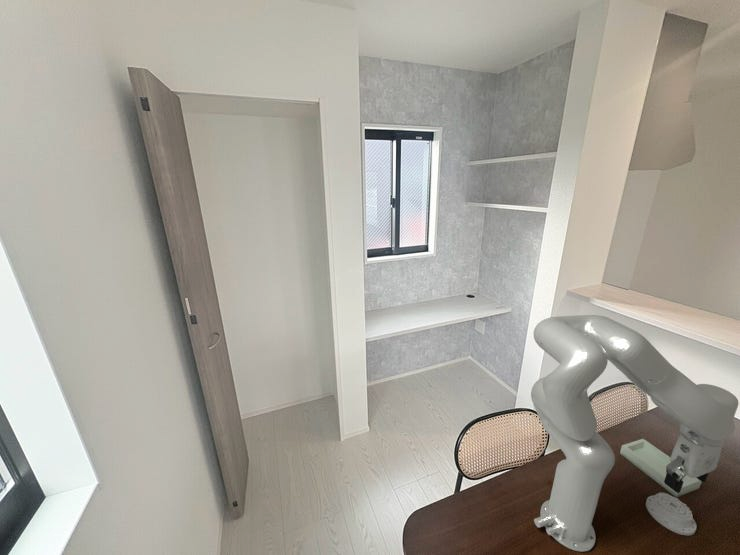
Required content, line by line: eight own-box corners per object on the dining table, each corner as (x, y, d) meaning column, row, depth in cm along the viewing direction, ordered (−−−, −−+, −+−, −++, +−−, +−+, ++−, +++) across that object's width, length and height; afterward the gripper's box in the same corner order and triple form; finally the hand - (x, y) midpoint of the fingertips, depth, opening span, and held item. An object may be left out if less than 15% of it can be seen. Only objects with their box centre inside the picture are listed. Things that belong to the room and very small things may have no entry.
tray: (676, 497, 88) (679, 488, 87) (619, 453, 102) (622, 445, 101) (699, 488, 90) (702, 479, 89) (640, 446, 105) (643, 438, 104)
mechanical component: (661, 532, 79) (705, 540, 77) (665, 520, 78) (711, 528, 76) (637, 495, 88) (676, 502, 86) (640, 484, 87) (680, 491, 85)
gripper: (697, 452, 69) (679, 506, 74) (745, 434, 73) (725, 486, 78) (660, 429, 76) (645, 479, 81) (705, 413, 80) (689, 462, 85)
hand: (684, 482), depth 79 cm, fingers open, 9 cm apart
